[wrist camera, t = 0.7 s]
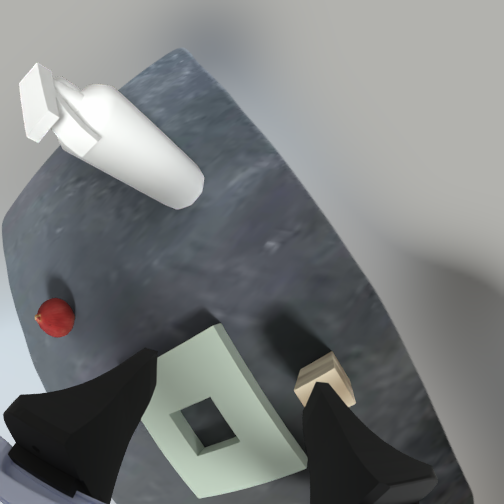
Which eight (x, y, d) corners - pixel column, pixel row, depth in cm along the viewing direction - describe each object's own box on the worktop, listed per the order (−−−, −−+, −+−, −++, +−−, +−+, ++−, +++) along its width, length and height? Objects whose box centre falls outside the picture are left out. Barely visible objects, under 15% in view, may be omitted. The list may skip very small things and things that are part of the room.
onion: (72, 341, 37) (34, 346, 30) (58, 311, 39) (21, 312, 31) (90, 322, 37) (49, 325, 29) (74, 291, 38) (35, 289, 30)
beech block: (349, 379, 28) (355, 403, 21) (317, 397, 28) (315, 424, 22) (332, 350, 29) (334, 367, 22) (300, 369, 29) (293, 390, 23)
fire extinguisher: (180, 133, 37) (54, 20, 12) (223, 197, 34) (64, 80, 10) (143, 163, 38) (3, 80, 13) (180, 230, 35) (-4, 170, 11)
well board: (308, 457, 27) (306, 468, 25) (205, 489, 29) (198, 498, 27) (220, 322, 32) (213, 325, 30) (129, 375, 34) (118, 379, 32)
